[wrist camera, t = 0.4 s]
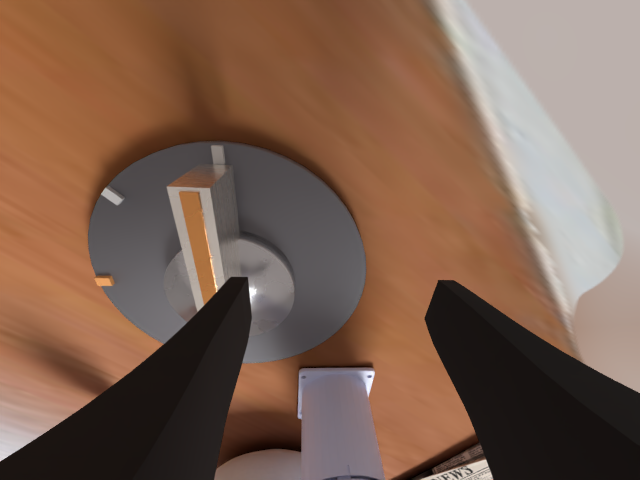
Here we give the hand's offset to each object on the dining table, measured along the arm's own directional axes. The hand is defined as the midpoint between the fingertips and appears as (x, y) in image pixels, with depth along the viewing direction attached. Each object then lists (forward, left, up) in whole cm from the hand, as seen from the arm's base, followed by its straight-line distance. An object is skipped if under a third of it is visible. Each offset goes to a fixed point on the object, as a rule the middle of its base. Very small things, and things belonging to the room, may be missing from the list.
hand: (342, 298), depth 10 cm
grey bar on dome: (-4, +7, -8) cm, 11 cm away
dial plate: (-6, +7, -9) cm, 13 cm away
